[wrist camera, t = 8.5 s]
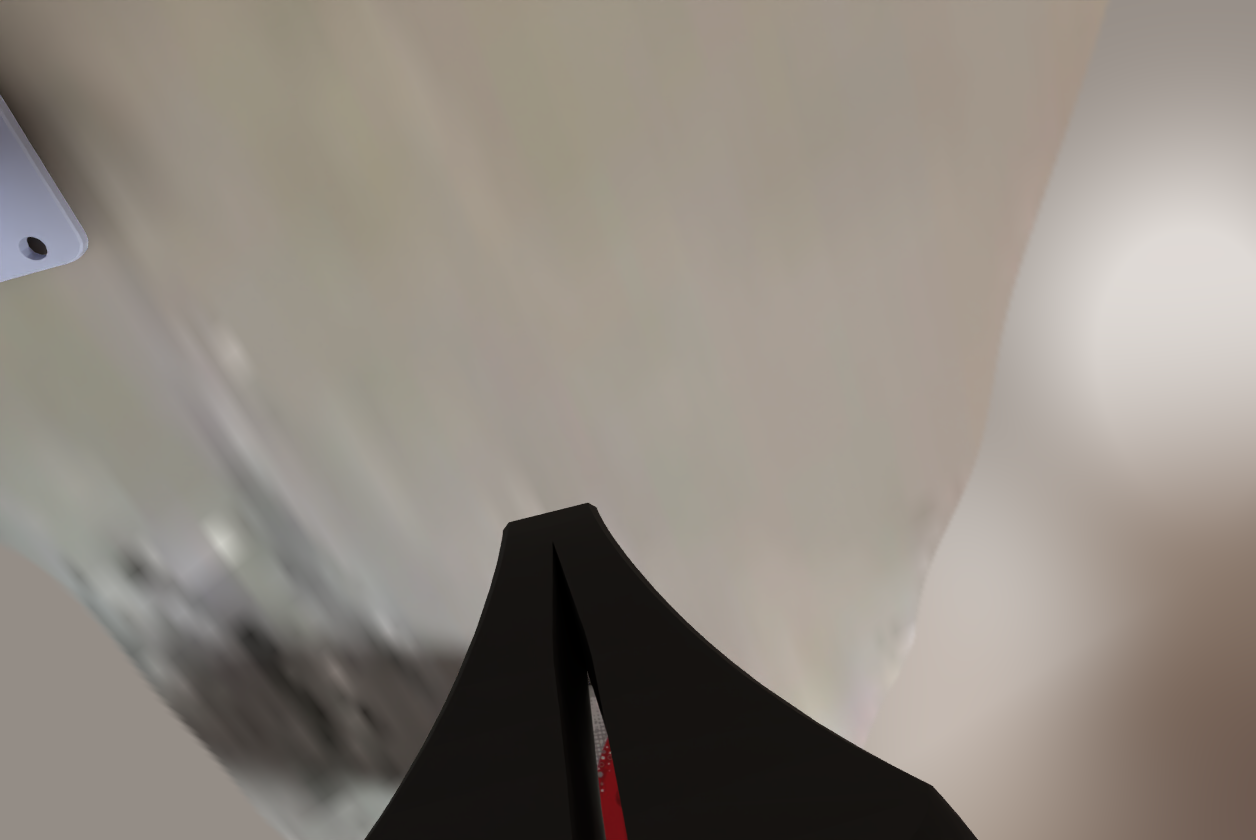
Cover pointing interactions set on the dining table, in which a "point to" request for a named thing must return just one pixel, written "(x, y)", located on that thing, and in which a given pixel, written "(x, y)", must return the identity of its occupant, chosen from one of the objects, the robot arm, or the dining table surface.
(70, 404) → the dining table surface
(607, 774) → the soda can
